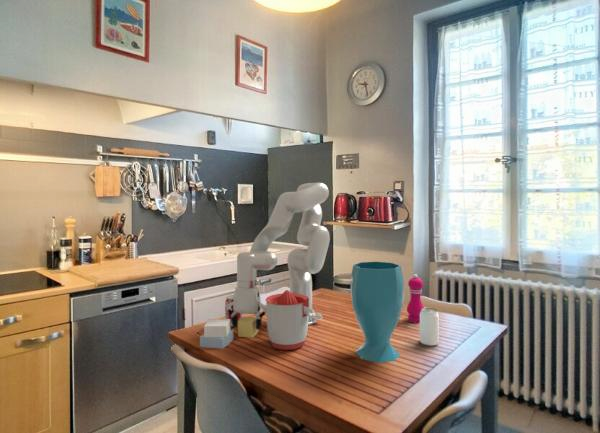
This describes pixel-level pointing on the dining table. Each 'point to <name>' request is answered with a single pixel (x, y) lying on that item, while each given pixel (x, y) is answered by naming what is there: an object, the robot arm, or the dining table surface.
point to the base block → (216, 341)
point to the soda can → (227, 315)
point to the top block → (217, 328)
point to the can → (429, 326)
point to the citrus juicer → (287, 320)
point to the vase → (377, 307)
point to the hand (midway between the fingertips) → (246, 327)
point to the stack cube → (247, 327)
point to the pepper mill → (415, 299)
